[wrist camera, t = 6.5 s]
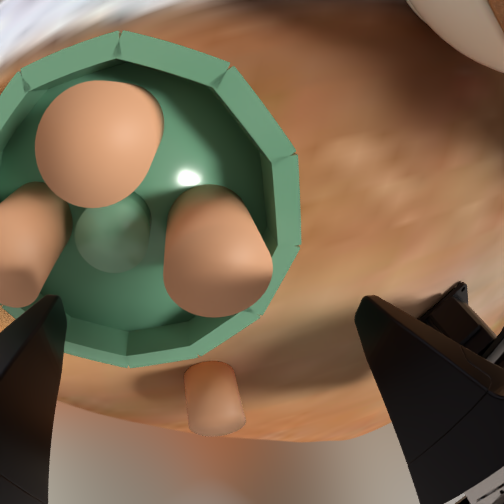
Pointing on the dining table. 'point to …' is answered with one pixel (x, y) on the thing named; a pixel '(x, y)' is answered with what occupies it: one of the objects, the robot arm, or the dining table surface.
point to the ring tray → (154, 194)
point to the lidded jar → (467, 27)
